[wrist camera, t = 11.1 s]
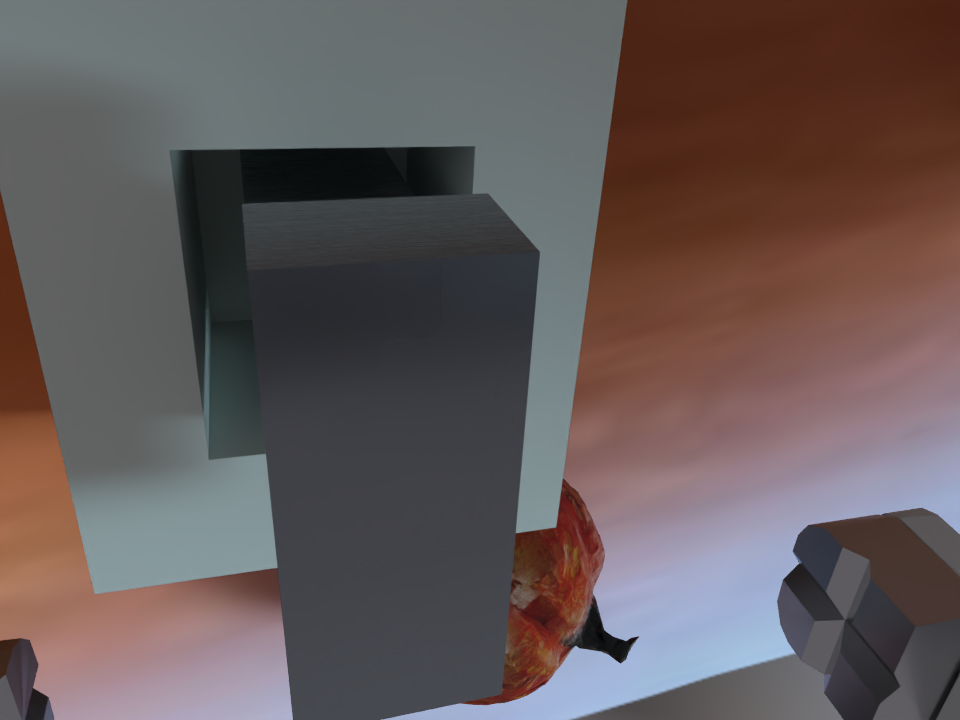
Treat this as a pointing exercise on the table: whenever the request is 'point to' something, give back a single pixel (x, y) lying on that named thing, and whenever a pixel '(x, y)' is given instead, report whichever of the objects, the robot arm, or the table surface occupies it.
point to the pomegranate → (554, 601)
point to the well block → (220, 230)
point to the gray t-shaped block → (388, 425)
